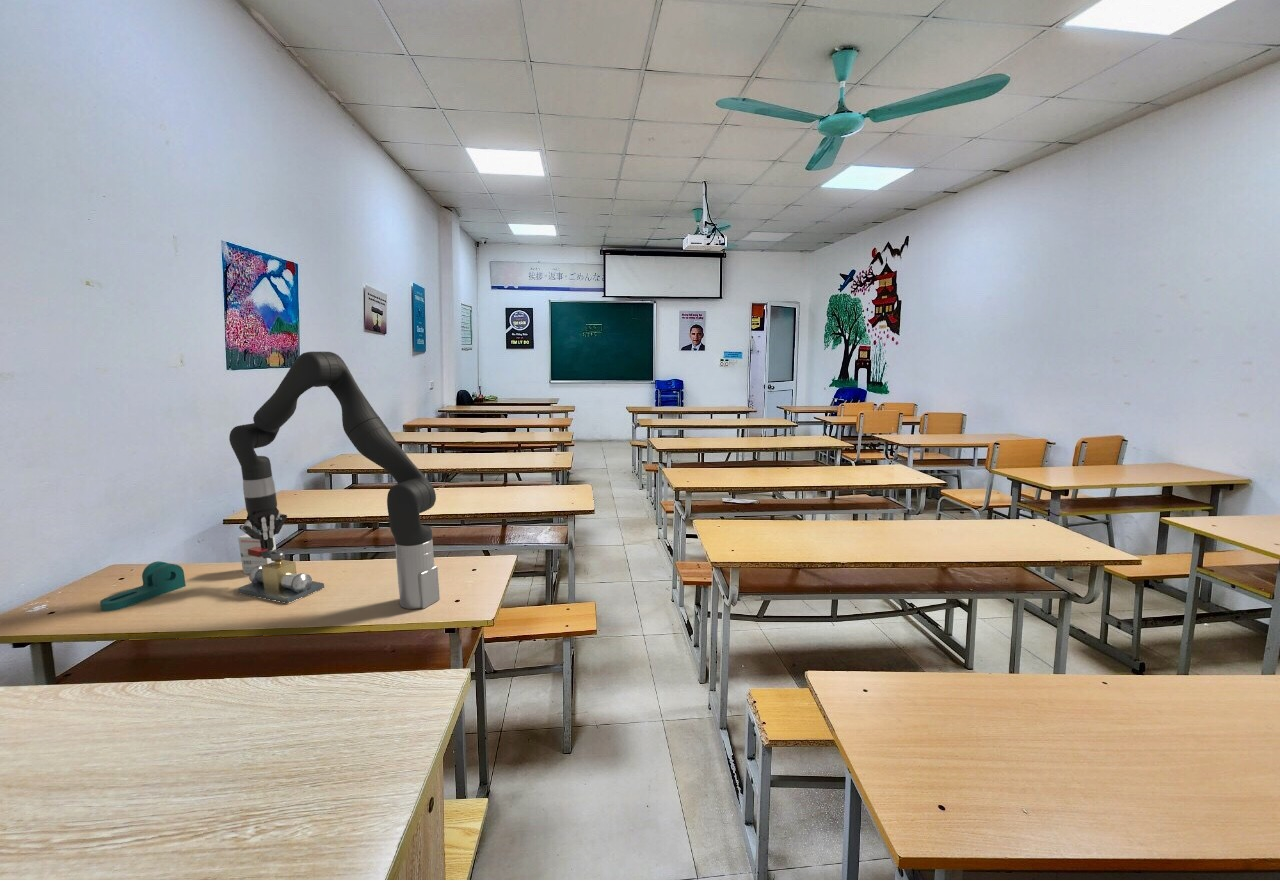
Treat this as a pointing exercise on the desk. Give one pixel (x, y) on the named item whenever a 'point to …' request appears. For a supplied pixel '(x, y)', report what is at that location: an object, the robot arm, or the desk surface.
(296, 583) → the valve pipe
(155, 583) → the bracket
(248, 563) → the ink box
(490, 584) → the desk surface
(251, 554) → the valve lever
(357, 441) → the robot arm
